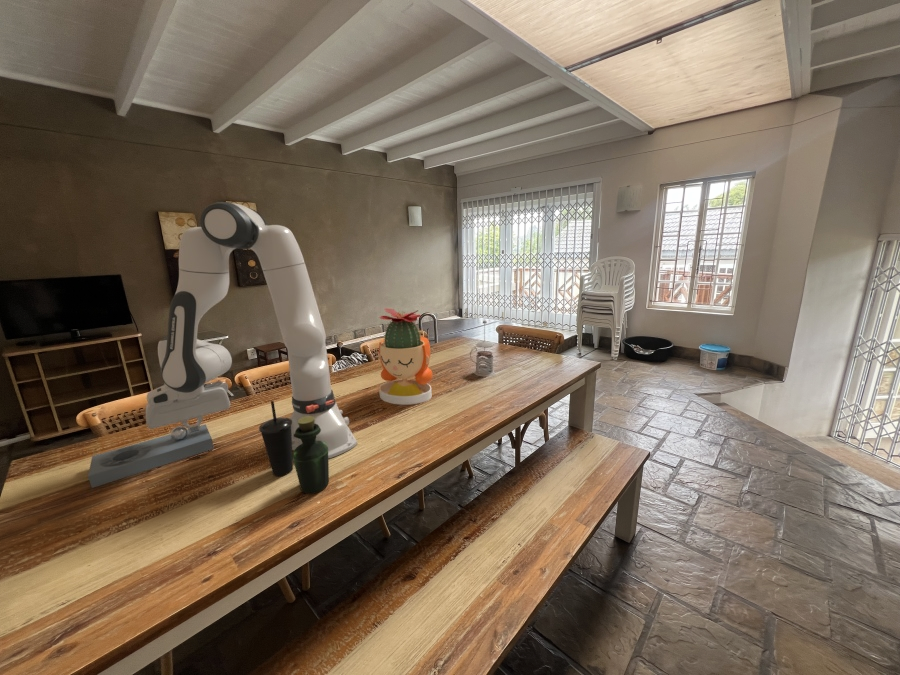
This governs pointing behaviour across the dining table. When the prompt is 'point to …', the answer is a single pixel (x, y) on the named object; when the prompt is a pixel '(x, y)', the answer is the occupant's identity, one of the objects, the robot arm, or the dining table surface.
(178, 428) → the ball
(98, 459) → the grey flat block
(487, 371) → the french press
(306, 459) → the potion bottle
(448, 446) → the dining table surface
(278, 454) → the drinking cup
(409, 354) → the potted cactus
